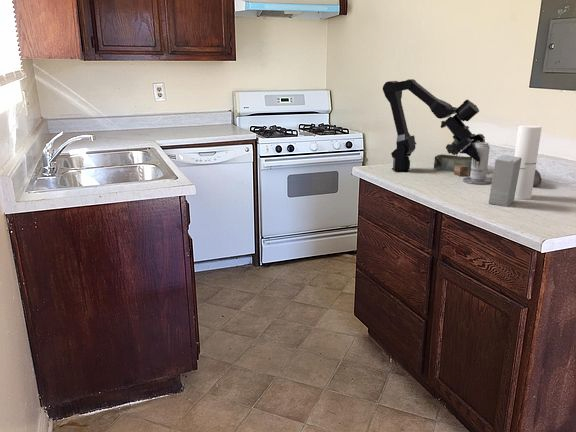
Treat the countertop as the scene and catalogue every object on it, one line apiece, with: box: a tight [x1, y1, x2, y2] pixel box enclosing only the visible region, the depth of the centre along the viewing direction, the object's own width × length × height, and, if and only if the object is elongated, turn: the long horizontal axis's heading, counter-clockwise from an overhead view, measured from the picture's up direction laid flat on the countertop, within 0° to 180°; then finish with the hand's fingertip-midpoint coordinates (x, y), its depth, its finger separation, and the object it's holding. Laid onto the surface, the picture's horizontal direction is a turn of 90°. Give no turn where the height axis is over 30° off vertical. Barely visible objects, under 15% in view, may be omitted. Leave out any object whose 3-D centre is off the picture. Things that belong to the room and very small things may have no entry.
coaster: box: [462, 176, 492, 186], centre depth 195 cm, size 11×11×1 cm
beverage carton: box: [433, 153, 472, 174], centre depth 216 cm, size 8×19×7 cm, turn 52°
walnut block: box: [453, 165, 469, 177], centre depth 206 cm, size 4×4×4 cm
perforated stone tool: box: [533, 168, 542, 187], centre depth 189 cm, size 15×5×7 cm, turn 2°
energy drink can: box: [469, 141, 490, 181], centre depth 193 cm, size 6×6×15 cm
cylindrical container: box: [514, 124, 542, 201], centre depth 169 cm, size 7×7×25 cm
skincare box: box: [488, 154, 522, 207], centre depth 163 cm, size 8×7×16 cm
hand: (483, 159), depth 192 cm, fingers open, 9 cm apart
